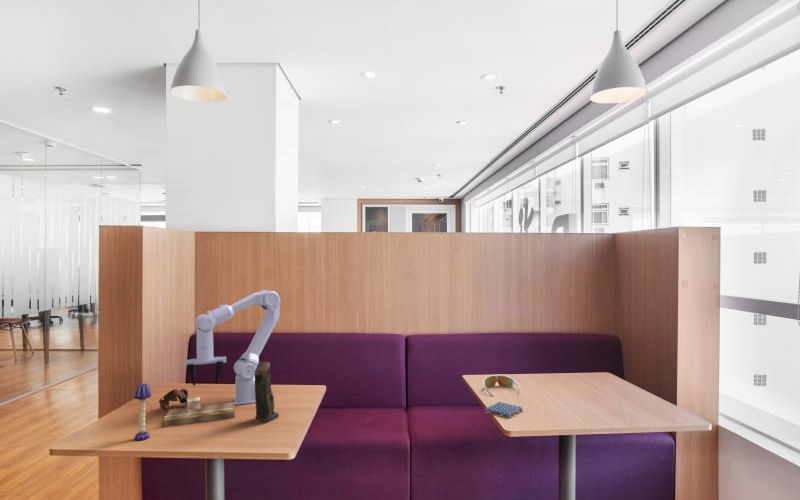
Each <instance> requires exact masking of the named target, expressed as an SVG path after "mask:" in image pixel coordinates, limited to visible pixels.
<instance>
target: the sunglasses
mask: <svg viewBox="0 0 800 500" xmlns="http://www.w3.org/2000/svg"><path fill="white" fill-rule="evenodd" d="M496 383H498V385H499V387H506V388H507V387H508V388H513V387H514V384H515V385H516V386H517V387H518V389H519V390H521V387H520V384H519V383H518V382H517V381H516V380H515V379H514V378H512V377H510V376H508V375H506V374H491V375H488V376H487V377H485V378H483V380H482V384H483V388H484V389H485V391H487V392H488V394H489V395H491V397H493V398H495V396H494V394H493V393H492V392H491V391H490V390H489V388H492V387H495V386H496ZM518 396H519V397H520V396H521V392H519V394H518Z"/></svg>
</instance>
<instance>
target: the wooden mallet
mask: <svg viewBox="0 0 800 500" xmlns="http://www.w3.org/2000/svg"><path fill="white" fill-rule="evenodd" d="M201 406H202V403H201V397H199V396H198V397H193V398H192V397H191V398H187V414H188V413H196V412H201Z"/></svg>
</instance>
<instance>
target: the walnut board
mask: <svg viewBox="0 0 800 500" xmlns="http://www.w3.org/2000/svg"><path fill="white" fill-rule="evenodd" d="M235 406H236V405H235V401H229V402H222V403H212V404H205V405H201V412H196V413H188V414H187V407H186V408H185V407H179V408H172V409H171V408H170V409H168V410H167V411H168V412H167V415H164V427H172V426H179V425H188V424H196V423H203V422H204V423H206V422H210V421H218V420H226V419H235V415H236V414H235Z"/></svg>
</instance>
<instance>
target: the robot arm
mask: <svg viewBox="0 0 800 500" xmlns="http://www.w3.org/2000/svg"><path fill="white" fill-rule="evenodd" d="M281 302H282V301H281V298H280V295H279V294H278V293H277V291H273V290H266V289H261V290H260V291H257V292H253V293H252V294H250V295H248V296H246V297H244V298H243V299H240V300H238V301H237V302H235V303H233V304H231V305H229V304H220V305H218V307H216V308H215V309H213V310H207V311H206V314H205V313H204V314H199V315H198V316H197V317H196V319H195V321H194V323H193V324H194V326H195V328H196V358H191V359H184V360H183V367H186V370H187V372H188V373H189V376H190V378H191V381H192V386H196V381H197V380H196V366H197V365H208V364H211V365H212V364H215V384H218V383H219V378H220V373H221V371H222V368H223V366H224V364H225V363H227V356H215V355H214V328H215V326H219V324H222V323H225V322H226V321H228V320H230V319H232V318H233V317H234V314H235V313H237V312H240V311H242V310H245V309H247V308H249V307H251V306H260V307H261V309H263V313H264V318H263V319H262V320H261V323H260V324H259V326H258V329H257V331H256V332H255V334H254V336H253V338H252V340H251V342H250V344H249V345H248V348H247V350H246V351H245V352H244V353H243V354H241V356H240V358H239V359H238V360H237V361H235V362H234V364H233V371H234V373H235V374H236V375H235V383H234V384H235V386H234V387H235V388H234V389H235V397H234V402H235V406H237V405H246V404H252V403H256V400H255V370H256V368H257V365H258V364H259V363H260V360H259V359H260V358H259V357H260V355H261V353H262V351H263V349H264V347H265V345H266V344H267V342H268V339H269V338H270V336H271V334H272V332H273V330H274V328H275V326H276V325H277V322H278V320H279V319H280V314H281Z"/></svg>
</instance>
